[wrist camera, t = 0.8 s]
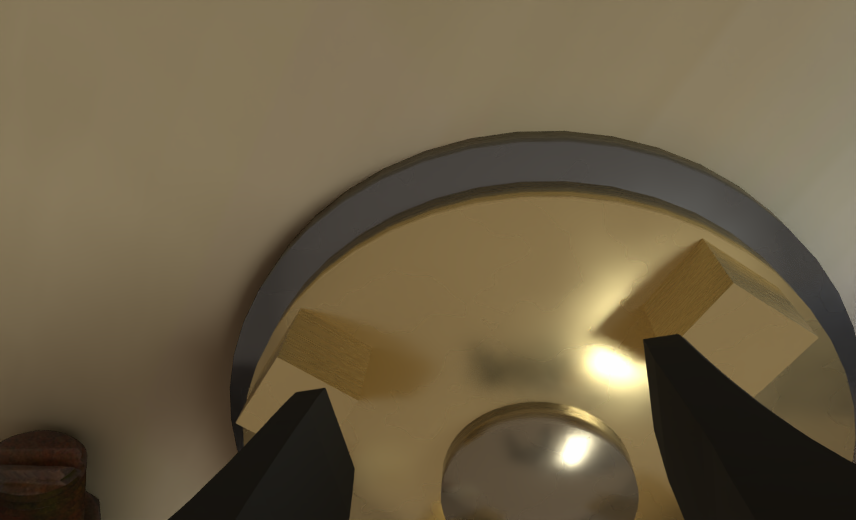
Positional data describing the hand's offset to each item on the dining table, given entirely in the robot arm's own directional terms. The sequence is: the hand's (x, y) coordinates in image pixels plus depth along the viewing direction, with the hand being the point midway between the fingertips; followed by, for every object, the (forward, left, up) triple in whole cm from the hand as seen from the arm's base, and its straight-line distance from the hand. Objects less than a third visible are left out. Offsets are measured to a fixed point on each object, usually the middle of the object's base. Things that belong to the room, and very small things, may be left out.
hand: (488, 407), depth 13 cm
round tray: (0, +8, -8) cm, 11 cm away
